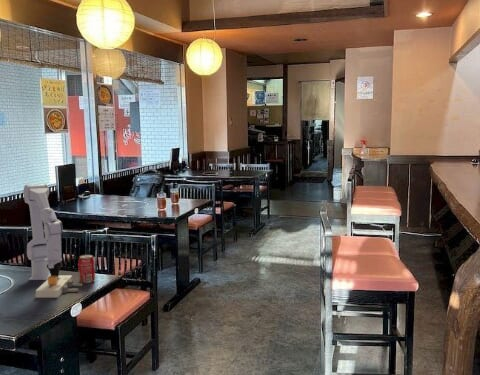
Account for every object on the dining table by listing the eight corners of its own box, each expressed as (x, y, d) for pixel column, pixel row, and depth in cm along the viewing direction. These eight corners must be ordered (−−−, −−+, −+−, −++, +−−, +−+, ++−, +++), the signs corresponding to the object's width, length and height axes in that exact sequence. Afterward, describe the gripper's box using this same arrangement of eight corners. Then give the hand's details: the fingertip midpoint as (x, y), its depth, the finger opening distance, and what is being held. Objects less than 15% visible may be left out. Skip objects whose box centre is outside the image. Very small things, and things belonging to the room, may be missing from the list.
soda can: (87, 278, 215) (86, 253, 214) (98, 280, 212) (97, 255, 210) (75, 282, 209) (74, 256, 208) (86, 285, 206) (85, 259, 204)
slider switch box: (52, 281, 209) (52, 275, 209) (72, 281, 210) (72, 275, 210) (35, 297, 190) (35, 290, 189) (58, 297, 190) (57, 290, 190)
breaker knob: (50, 282, 198) (49, 275, 198) (57, 282, 198) (57, 275, 198) (48, 284, 196) (47, 277, 195) (55, 284, 196) (55, 277, 195)
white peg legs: (69, 285, 205) (69, 280, 204) (82, 285, 205) (82, 280, 205) (62, 292, 196) (62, 287, 195) (77, 292, 196) (76, 287, 196)
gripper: (47, 245, 204) (48, 274, 206) (40, 253, 190) (41, 285, 192) (64, 244, 205) (65, 274, 207) (58, 253, 191) (59, 284, 193)
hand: (55, 279), depth 199 cm, fingers closed
